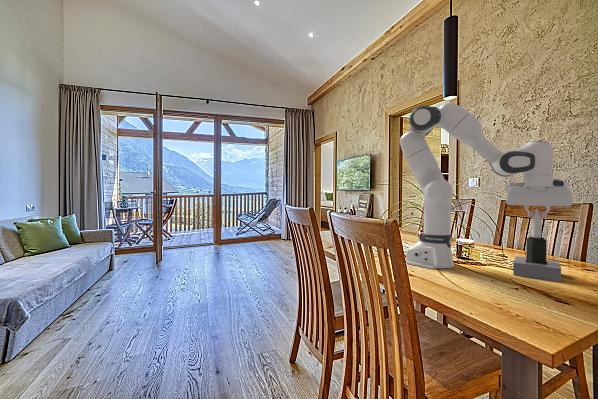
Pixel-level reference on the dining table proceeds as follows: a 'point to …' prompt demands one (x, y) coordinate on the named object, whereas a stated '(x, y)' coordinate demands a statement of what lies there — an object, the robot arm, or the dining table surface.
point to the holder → (537, 269)
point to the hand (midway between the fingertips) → (537, 217)
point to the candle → (536, 242)
